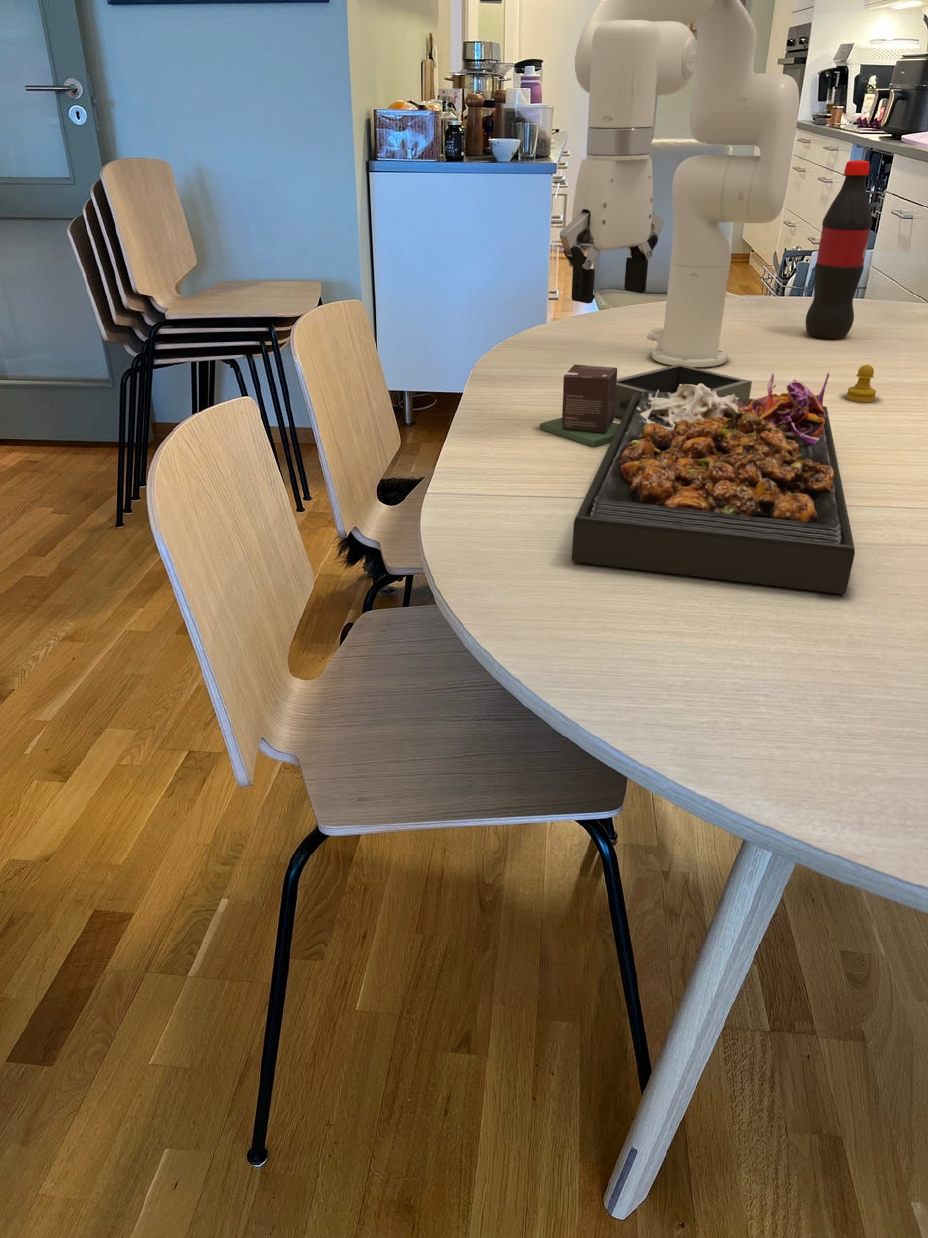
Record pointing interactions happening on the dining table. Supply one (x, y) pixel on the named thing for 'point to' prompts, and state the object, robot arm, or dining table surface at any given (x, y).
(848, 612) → the dining table surface
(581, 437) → the mat
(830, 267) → the cola bottle
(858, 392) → the chess piece
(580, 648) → the dining table surface
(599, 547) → the food platter
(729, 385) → the dark grey tray
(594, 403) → the box
